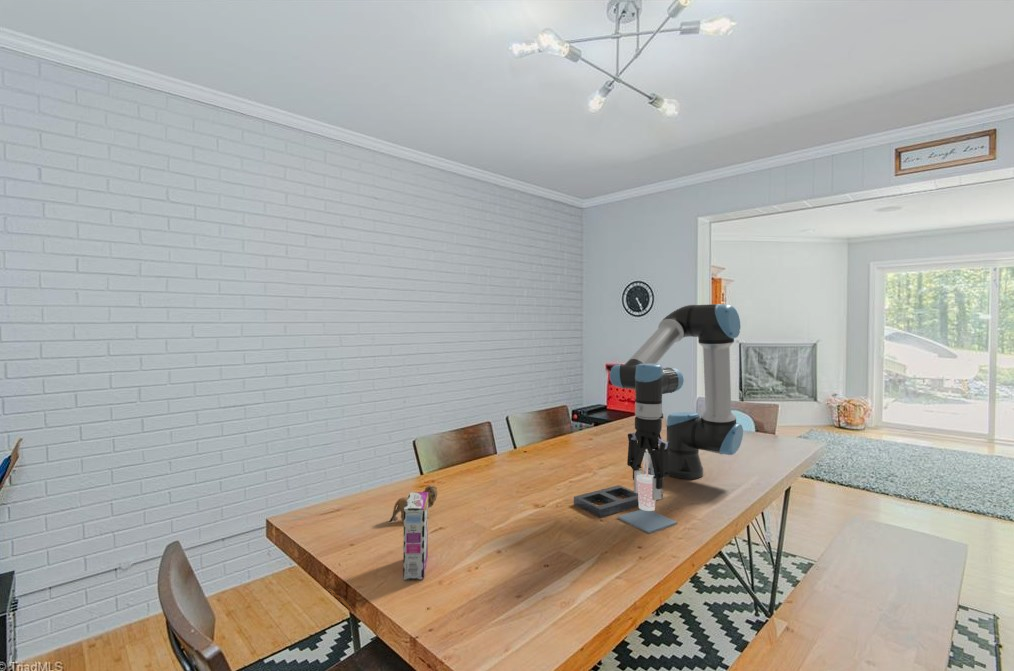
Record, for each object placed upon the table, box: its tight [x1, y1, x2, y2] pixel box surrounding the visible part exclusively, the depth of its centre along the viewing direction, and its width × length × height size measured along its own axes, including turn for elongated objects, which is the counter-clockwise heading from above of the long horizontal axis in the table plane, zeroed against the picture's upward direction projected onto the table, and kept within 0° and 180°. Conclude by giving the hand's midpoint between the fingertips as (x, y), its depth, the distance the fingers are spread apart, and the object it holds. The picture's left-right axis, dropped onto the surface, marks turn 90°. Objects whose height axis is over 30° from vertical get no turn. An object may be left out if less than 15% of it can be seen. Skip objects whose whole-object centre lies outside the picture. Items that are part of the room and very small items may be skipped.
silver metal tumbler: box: [642, 449, 665, 501], centre depth 158 cm, size 7×7×15 cm
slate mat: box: [616, 509, 678, 535], centre depth 139 cm, size 12×12×1 cm
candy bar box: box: [402, 491, 429, 581], centre depth 112 cm, size 11×5×16 cm, turn 5°
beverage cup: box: [636, 460, 657, 512], centre depth 139 cm, size 6×6×14 cm
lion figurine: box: [388, 484, 438, 523], centre depth 140 cm, size 15×5×9 cm, turn 119°
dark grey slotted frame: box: [573, 484, 639, 518], centre depth 152 cm, size 20×12×2 cm, turn 122°
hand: (647, 495), depth 139 cm, fingers closed on beverage cup, 6 cm apart
